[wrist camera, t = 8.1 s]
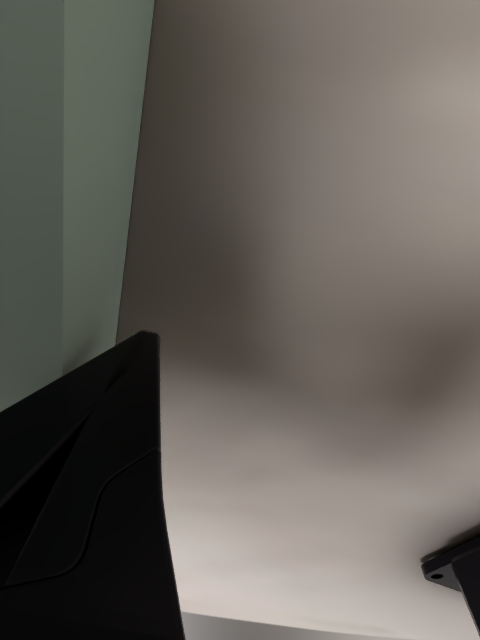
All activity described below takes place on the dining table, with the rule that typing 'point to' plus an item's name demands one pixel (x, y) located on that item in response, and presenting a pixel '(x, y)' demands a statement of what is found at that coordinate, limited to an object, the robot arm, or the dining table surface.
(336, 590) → the dining table surface
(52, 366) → the leg bar
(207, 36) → the dining table surface
